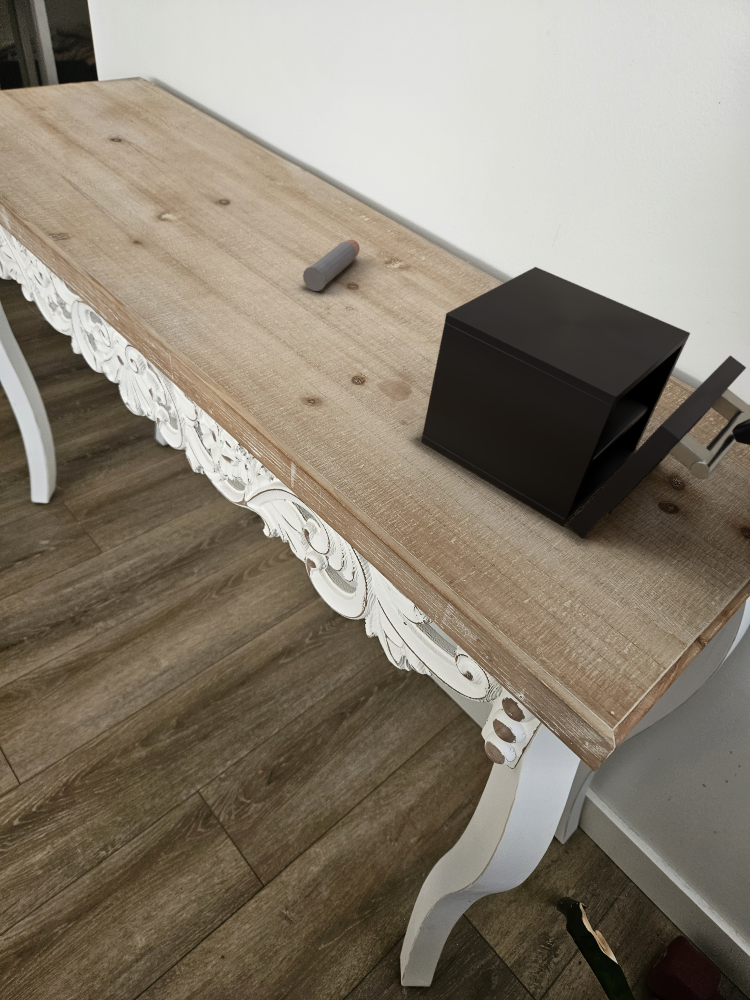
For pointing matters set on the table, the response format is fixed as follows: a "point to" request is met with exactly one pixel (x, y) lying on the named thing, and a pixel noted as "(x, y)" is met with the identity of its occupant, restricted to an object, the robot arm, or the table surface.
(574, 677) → the table surface
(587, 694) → the table surface
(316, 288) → the bullet cartridge
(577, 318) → the oven
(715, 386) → the oven door
